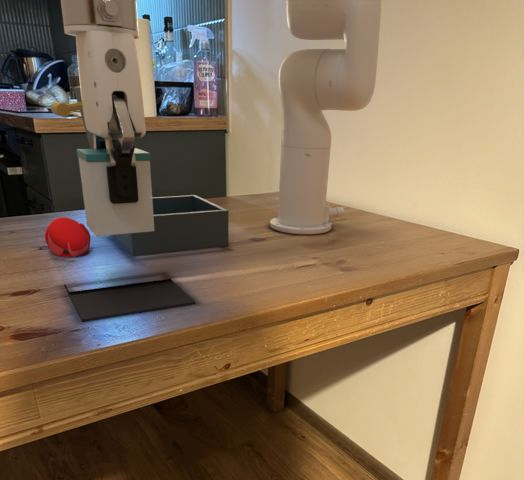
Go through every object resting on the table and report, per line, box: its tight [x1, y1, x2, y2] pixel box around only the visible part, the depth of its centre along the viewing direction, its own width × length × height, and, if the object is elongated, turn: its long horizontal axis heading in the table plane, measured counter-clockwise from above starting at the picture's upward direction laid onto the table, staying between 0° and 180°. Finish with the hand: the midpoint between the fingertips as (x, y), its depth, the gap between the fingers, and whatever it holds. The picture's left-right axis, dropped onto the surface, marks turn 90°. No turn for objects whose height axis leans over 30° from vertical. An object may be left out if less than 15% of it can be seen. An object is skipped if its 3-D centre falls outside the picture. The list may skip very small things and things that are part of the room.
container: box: [76, 147, 154, 237], centre depth 60 cm, size 7×6×9 cm
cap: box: [44, 216, 91, 258], centre depth 79 cm, size 8×6×6 cm
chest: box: [111, 194, 229, 257], centre depth 87 cm, size 17×15×7 cm
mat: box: [63, 278, 196, 323], centre depth 66 cm, size 14×13×1 cm
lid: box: [50, 86, 94, 149], centre depth 76 cm, size 17×15×6 cm
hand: (117, 196), depth 60 cm, fingers closed on container, 5 cm apart
